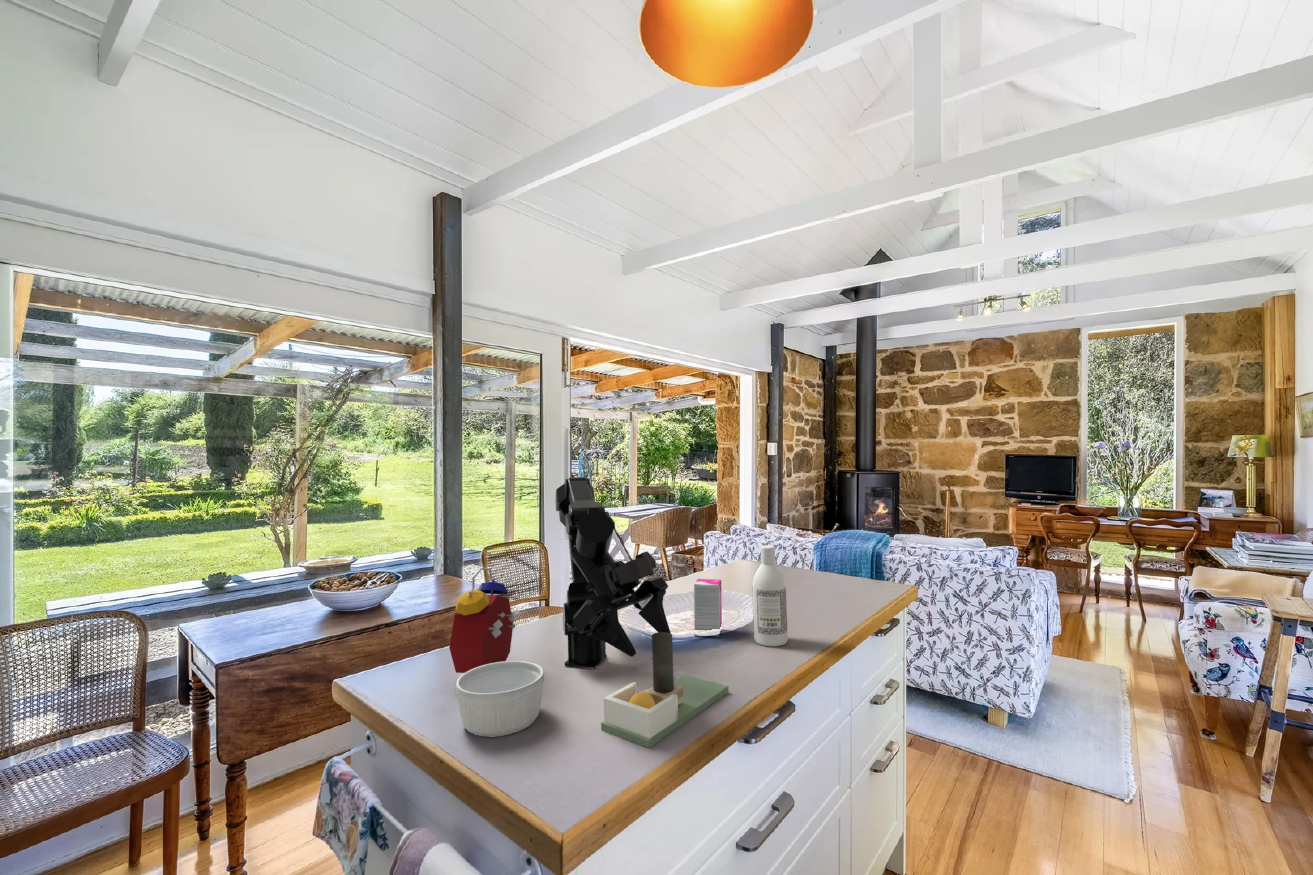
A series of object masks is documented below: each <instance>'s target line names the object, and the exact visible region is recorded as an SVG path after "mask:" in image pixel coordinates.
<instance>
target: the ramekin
mask: <svg viewBox="0 0 1313 875" xmlns="http://www.w3.org/2000/svg"><path fill="white" fill-rule="evenodd" d="M544 682H545V672H544V670H543V668H542V666H541V665H539V664H537V663H534V662H530V661H525V660H506V661H503V662H496V663H490V664H486V665H482V666H479V667H476V668H474V669H471V670H469V671H467V672H466V673H462V674H461V675H460V676H459V677H458V679H457V680H456V684H455V693H456V695H457V697H458V698H457V700H458V708H459V713H460V719H461V723H462V726H464V728H465V730H467V731H468V732H469V733H470V732H471V733H470V734H472V733H473V734H472V735H474V734H476V735H475V736H477V735H479V736H478V737H481V736H498V737H504V735H505V736H508V734H509V735H513V734H515V732H516V733H518V732H521V731H522V730H524V729H526V728H528V727H530V725H532V724H533V723H534V722H535V720H536V719H537V717H538V716H539V714H540V710H541V705H542V695H543V694H542V693H543V683H544ZM512 733H513V734H512Z"/></svg>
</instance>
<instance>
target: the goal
mask: <svg viewBox="0 0 1313 875" xmlns="http://www.w3.org/2000/svg"><path fill="white" fill-rule="evenodd" d="M638 692H639V691H638V682H636V681H633V682H631V683H629V684H627V685H626V686H624V687H622V688H620V689H618V690H616V691H614V692H612V693H611V694H609V695H606V696H605V697H603V710H604V711H603V715H604V716H603V717H604V718H603V719H604V720H603V721H604V722H606V723H609V724H612V725H614V726H617V727H620V728H622V729H625V730H628V731H630V732H633V733H636V734H638V735H641V736H643V737H646V738H649V739H650V738H651V737H653V736H654V735H656V734H657V733H659V732H660V731H662V730H663V729H665V728H666V727H668V726H669V725H671V724H672V723H673V722H675V721H677V720H678V700H677V695H676V694H672V695H671V696H669V697H668V698H666V699H664V700H663V701H661V702H660V703H658V704H656V705H655V706H653V707H651V708H650V709H647V708H644V707H641V706H638V705H635V704H632V703H629V701H630V699H631V697H632V696H633V695H634V694H636V693H638Z"/></svg>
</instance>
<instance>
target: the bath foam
mask: <svg viewBox="0 0 1313 875" xmlns="http://www.w3.org/2000/svg"><path fill="white" fill-rule="evenodd" d="M775 552H776V548H775V546H773V545H762V546H760V565H759V567H758V569H757V570H756V572H755V574H754V576H753V580H752V587H751V588H752V612H753V613H752V615H753V635H754V636H753V638H754V639H753V640H754V641H755V643H756V644H758V645H761V646H764V647H780V646H781V647H782V646H785V644H787V643H788V639H789V638H788V636H789V635H788V613H787V612H788V610H787V587H786V586H787V584H786V581H785V577H784V575H783V573H782V572H781V569H780V568H779V567H778V565H777V564H776V553H775Z"/></svg>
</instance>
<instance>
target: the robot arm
mask: <svg viewBox="0 0 1313 875" xmlns="http://www.w3.org/2000/svg"><path fill="white" fill-rule="evenodd" d="M595 497H596V496H595V487H594V486H593V485H592V484H590V478H588V477H586V476H579V477H568V478H565V481H564V483H563V484H562V485H560V486H559V487H557V488H556V490H555V511H556V512H558V514H559V515H558V516H559V522H560V523H561V524H562V525H563V526H564V527H565V531H566V534H567V537H568V548H569V549H568V550H569V558H570V560H569V561H570V570H571V580H572V581H571V582H570V583H569V585H568V588H567V590H566V602H564V603H563V606H562V607H563V608H562V629H563V632H564V633H563V634H564V636H565V637H567V658H568V659H567V660H566V661H564V666H565V667H573V668H574V667H575V668H584V669H585V668H586V669H596V668H597V667H598V666H599V665H600V664H601V663H602V662H603V661H605V659H607V657H608V654H607V652H606V651H607V650H606V649H607V648H606V646H607V645H606V643H607V644H609V645H611V646H612V647H613V648H616V649H617V650H619V651H621V652H622V653H623V654H626V655H627V656H629V657H631V658H633V657H635V655H636V654H637V651H636V647H634V645H633V643H632V642H631V639H630V638H629V636H628V635H627V633H626V631H625V629H624V627H622V625H621V623H620V621H619V611H620V610H623V609H624V608H627V607H631V606H634V608H635V609H637V610H639V611H638V614H639V616H640V617H641V618H642V619H644V621H646V622H647V623H648V625H650V626H651V627H652V628H653V629H654V630H655V631H656V633H658V632H667V633H671V634H672V631H671V629H670V626H669V624H668V623H669V622H668V619H667V617H666V613H665V610H664V609H665V608H664V605H663V604H664V597H665V595H666V594H667V589H668V588H669V585H668V584H667V582H666V580H665V579H664V578H663V577H662V576H657V575H656V576H654V577H651V576H653V575H655V572H654V569H656V567H657V563H656V562H657V560H656V559H654V557H653V556H652V555H651V553H650V552H649V551H648V550H647V551H644V552H640V554H637V555H635V558H634V559H631V560H629V561H627V562H624V561H622V560H618V561H616V560H615V559H614V558H613V557H612V555H611V553H610V552H609V551H610V547H611V542H612V539H613V533H614V530H615V529H616V524H615V523H616V522H615V520H614V519H613V518H612V517H611V515H610V513H609V511H606V508H605V506H604V505H603V503H602V502H599V501H596V499H595ZM648 576H650V578H647V579H645V580H643V582H642V583H641V581H640V580H641V579H644V578H645V577H648ZM635 588H636V590H635Z"/></svg>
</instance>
